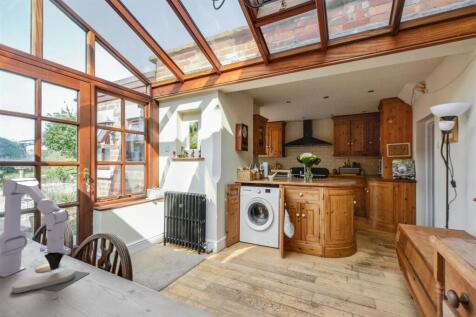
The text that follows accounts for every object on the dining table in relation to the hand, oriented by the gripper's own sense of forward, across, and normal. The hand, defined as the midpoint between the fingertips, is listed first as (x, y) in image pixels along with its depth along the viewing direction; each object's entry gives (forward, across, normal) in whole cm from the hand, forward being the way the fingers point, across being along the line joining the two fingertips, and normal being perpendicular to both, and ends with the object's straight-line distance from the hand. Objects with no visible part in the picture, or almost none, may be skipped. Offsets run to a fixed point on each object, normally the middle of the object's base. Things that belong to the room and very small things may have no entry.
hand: (54, 269), depth 90 cm
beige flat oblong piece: (+3, -2, -1) cm, 4 cm away
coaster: (+4, -13, +7) cm, 15 cm away
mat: (+4, +5, 0) cm, 7 cm away
